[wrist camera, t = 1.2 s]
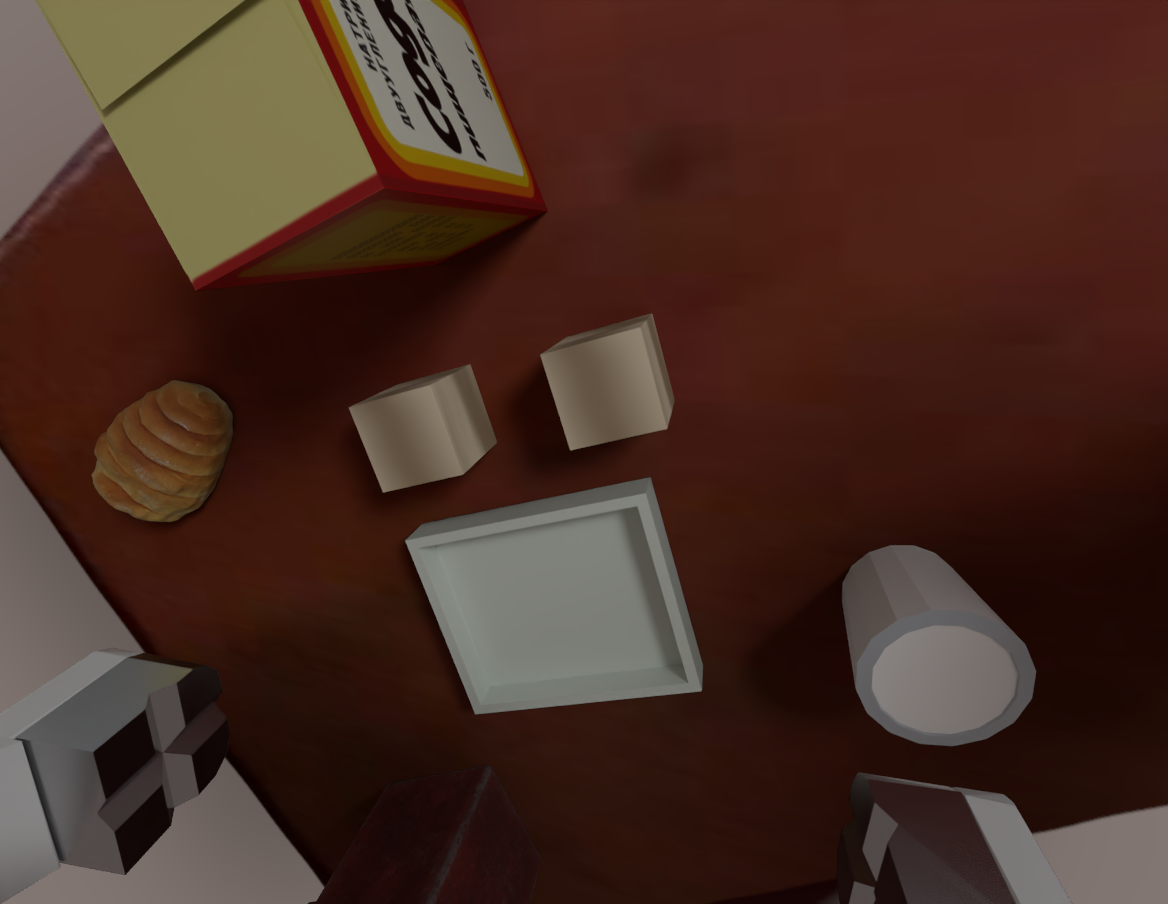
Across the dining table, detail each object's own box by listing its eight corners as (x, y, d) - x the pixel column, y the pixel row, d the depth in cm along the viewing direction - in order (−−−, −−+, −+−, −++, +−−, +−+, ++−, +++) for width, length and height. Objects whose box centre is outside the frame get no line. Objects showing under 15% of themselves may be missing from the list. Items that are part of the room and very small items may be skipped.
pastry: (179, 348, 37) (122, 360, 33) (266, 427, 37) (219, 447, 34) (117, 450, 40) (59, 471, 37) (197, 521, 41) (149, 548, 37)
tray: (650, 477, 33) (645, 493, 31) (702, 665, 36) (701, 691, 34) (422, 523, 37) (405, 540, 35) (487, 689, 40) (475, 714, 38)
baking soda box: (547, 210, 30) (376, 187, 15) (434, 265, 32) (184, 292, 17) (462, 0, 28) (164, -273, 13) (347, 73, 30) (-28, -90, 15)
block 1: (470, 364, 33) (430, 385, 28) (497, 442, 34) (462, 474, 30) (398, 384, 34) (348, 407, 30) (426, 458, 36) (382, 492, 31)
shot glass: (815, 634, 34) (838, 728, 28) (846, 522, 32) (878, 596, 25) (949, 660, 33) (1005, 765, 26) (991, 547, 31) (1064, 630, 24)
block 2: (652, 313, 30) (640, 327, 26) (674, 400, 31) (666, 428, 27) (566, 337, 32) (540, 354, 27) (591, 420, 33) (570, 450, 28)
